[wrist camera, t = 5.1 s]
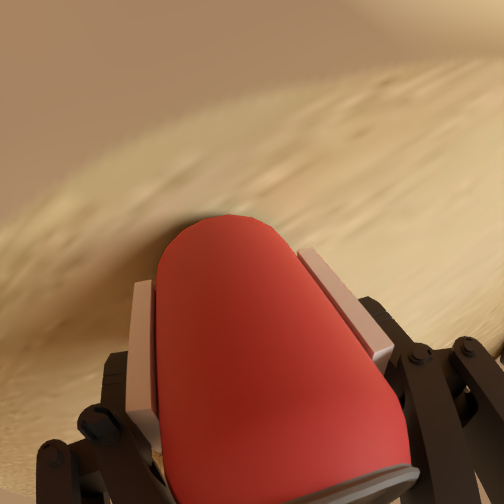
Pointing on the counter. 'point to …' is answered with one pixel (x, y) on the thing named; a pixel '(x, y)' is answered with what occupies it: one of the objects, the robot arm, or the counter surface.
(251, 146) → the counter surface
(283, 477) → the beer can
